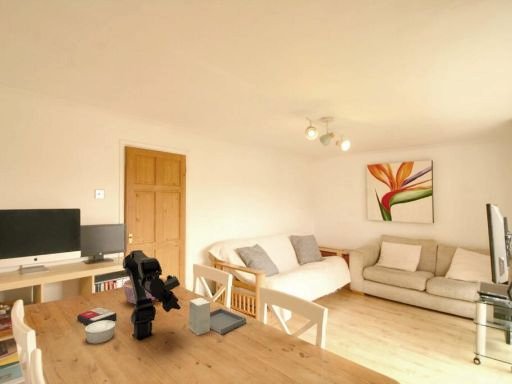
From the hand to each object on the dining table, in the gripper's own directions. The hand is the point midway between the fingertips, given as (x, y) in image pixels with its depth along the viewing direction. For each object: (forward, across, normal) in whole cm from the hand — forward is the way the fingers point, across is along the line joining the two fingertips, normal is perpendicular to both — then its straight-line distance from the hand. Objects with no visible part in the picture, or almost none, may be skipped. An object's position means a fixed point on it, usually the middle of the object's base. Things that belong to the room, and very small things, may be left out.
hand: (179, 308), depth 122 cm
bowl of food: (+3, +47, +15) cm, 49 cm away
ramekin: (-13, +13, +30) cm, 35 cm away
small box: (+15, 0, +2) cm, 15 cm away
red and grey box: (-13, +33, +31) cm, 47 cm away
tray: (+23, +2, -6) cm, 24 cm away
